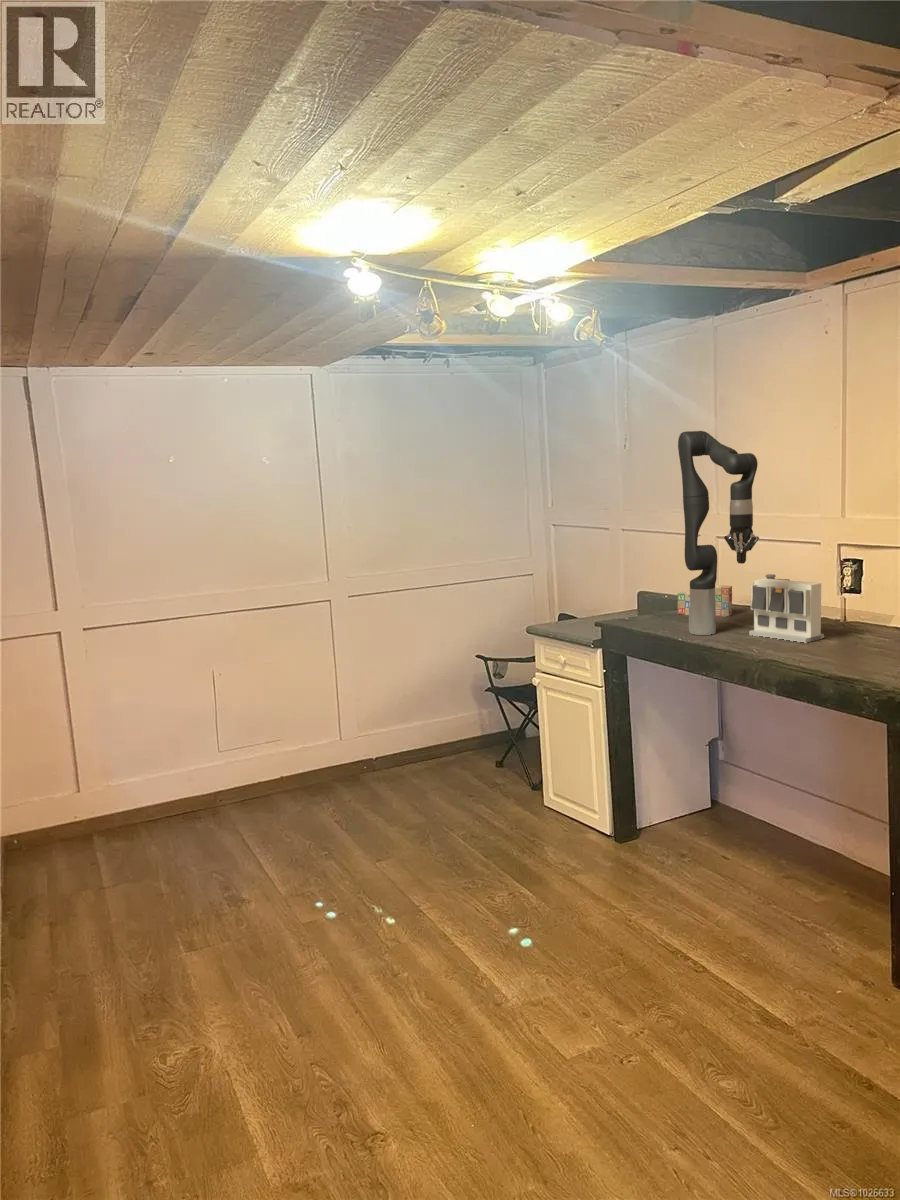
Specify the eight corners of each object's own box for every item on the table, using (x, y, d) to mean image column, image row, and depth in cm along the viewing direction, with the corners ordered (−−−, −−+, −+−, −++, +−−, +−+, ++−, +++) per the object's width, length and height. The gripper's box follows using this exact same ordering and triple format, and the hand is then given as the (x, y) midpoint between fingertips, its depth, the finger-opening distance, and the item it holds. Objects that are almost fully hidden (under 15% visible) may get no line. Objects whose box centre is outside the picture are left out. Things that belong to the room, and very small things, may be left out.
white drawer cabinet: (767, 630, 337) (767, 577, 334) (823, 638, 318) (824, 582, 315) (749, 635, 330) (749, 581, 327) (805, 643, 312) (806, 586, 309)
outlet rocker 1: (770, 610, 322) (775, 589, 322) (783, 612, 318) (788, 590, 318) (767, 609, 320) (772, 587, 321) (780, 611, 316) (785, 589, 317)
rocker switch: (753, 608, 328) (757, 587, 328) (765, 610, 324) (768, 588, 324) (751, 608, 327) (754, 586, 327) (763, 609, 323) (766, 587, 323)
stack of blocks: (677, 615, 380) (676, 586, 378) (681, 612, 385) (680, 584, 383) (729, 616, 369) (729, 587, 367) (732, 614, 375) (732, 585, 373)
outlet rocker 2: (793, 611, 317) (790, 590, 315) (806, 612, 313) (803, 591, 311) (790, 612, 316) (787, 591, 314) (803, 614, 312) (800, 592, 310)
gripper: (764, 512, 303) (764, 563, 305) (731, 511, 313) (732, 561, 316) (751, 513, 298) (751, 565, 301) (718, 513, 309) (718, 563, 312)
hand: (741, 563), depth 308 cm, fingers closed
